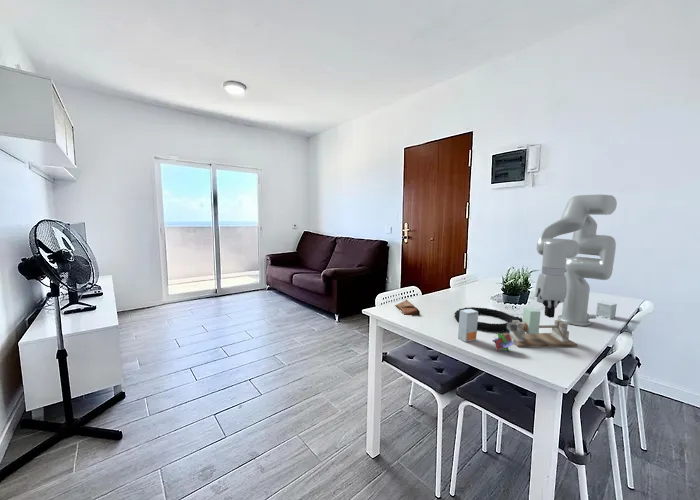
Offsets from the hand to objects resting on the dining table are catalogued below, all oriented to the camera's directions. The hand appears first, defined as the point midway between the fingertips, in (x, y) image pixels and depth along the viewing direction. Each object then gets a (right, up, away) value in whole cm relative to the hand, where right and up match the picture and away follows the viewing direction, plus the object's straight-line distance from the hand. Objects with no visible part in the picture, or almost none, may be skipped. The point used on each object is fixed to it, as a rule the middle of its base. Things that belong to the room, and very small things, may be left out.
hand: (549, 316), depth 119 cm
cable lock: (-15, -8, +22) cm, 28 cm away
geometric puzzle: (-23, -11, -8) cm, 27 cm away
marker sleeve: (-8, -6, 0) cm, 10 cm away
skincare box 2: (+51, -8, +32) cm, 61 cm away
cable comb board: (-4, -10, +1) cm, 11 cm away
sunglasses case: (-51, -6, +38) cm, 63 cm away
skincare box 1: (-33, -10, +1) cm, 34 cm away
